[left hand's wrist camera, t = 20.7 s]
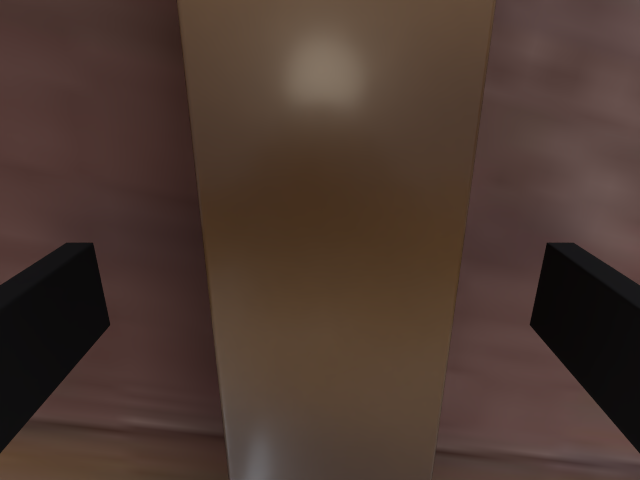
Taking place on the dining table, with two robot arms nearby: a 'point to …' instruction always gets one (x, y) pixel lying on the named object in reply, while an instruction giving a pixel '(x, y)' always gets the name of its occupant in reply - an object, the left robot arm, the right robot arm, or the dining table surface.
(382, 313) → the beam
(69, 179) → the dining table surface
